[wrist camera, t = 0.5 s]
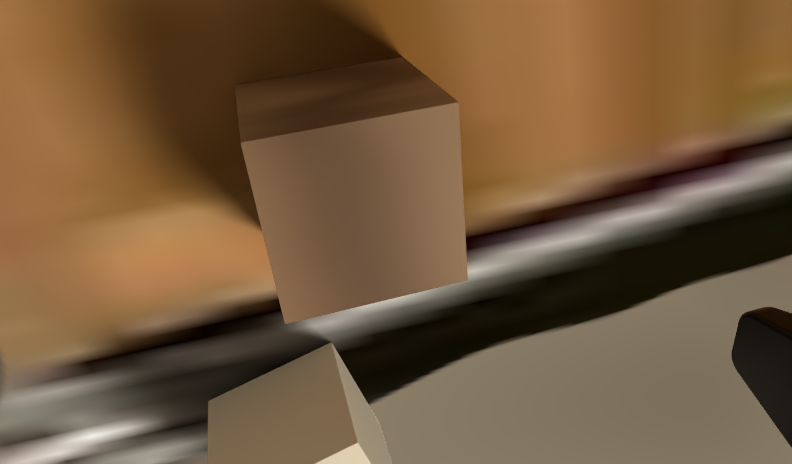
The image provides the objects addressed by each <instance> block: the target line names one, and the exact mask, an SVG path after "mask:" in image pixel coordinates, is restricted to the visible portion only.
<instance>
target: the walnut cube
mask: <svg viewBox="0 0 792 464" xmlns="http://www.w3.org/2000/svg"><path fill="white" fill-rule="evenodd" d="M234 86H235V95H236V105H237V114H238V124H239V133H240V143H241V147H242V151H243V155H244V159H245V163H246V167H247V171H248V175H249V179H250V183H251V188H252V192H253V196H254V200H255V204H256V208H257V212H258V216H259V220H260V224H261V228H262V232H263V236H264V241H265V245H266V249H267V253H268V257H269V261H270V265H271V269H272V273H273V277H274V281H275V285H276V289H277V294H278V298H279V302H280V306H281V310H282V314H283V318H284V322H285V324H288V323H292V322H296V321H301V320H305V319H309V318H313V317H317V316H321V315H325V314H330V313H334V312H338V311H342V310H346V309H350V308H355V307H359V306H363V305H367V304H371V303H375V302H379V301H384V300H388V299H392V298H396V297H400V296H404V295H409V294H413V293H417V292H421V291H425V290H429V289H433V288H438V287H442V286H446V285H450V284H454V283H458V282H463V281H467V280H468V277H467V257H466V238H465V218H464V198H463V179H462V159H461V139H460V119H459V102H458V101H457V100H455V99H454V98H453V97H452V96H450V95H449V94H448V93H447V92H445V91H444V90H443V89H442V88H440V87H439V86H438V85H437V84H436V83H434V82H433V81H432V80H431V79H429V78H428V77H427V76H426V75H424V74H423V73H422V72H421V71H419V70H418V69H417V68H416V67H414V66H413V65H412V64H411V63H410V62H408V61H407V60H406V59H405V58H403V57H397V58H391V59H386V60H380V61H374V62H368V63H362V64H356V65H350V66H344V67H338V68H332V69H326V70H320V71H314V72H308V73H302V74H297V75H291V76H285V77H279V78H273V79H267V80H261V81H255V82H249V83H243V84H237V85H234Z"/></svg>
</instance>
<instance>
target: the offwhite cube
mask: <svg viewBox="0 0 792 464" xmlns="http://www.w3.org/2000/svg"><path fill="white" fill-rule="evenodd" d="M207 464H392V461H391V458H390V455H389V452H388V449H387V446H386V442H385V439H384V436H383V433H382V429H381V426H380V423H379V421H378V420H377V418H376V416H375V414H374V413H373V411H372V409H371V408H370V406H369V405H368V403H367V402H366V400H365V398H364V397H363V395H362V393H361V391H360V390H359V388H358V386H357V385H356V383H355V381H354V380H353V378H352V376H351V374H350V373H349V371H348V369H347V368H346V366H345V364H344V363H343V361H342V359H341V358H340V356H339V354H338V352H337V351H336V349H335V347H334V346H333V344H332V342H331V343H329V344H327V345H324V346H322V347H320V348H318V349H316V350H314V351H312V352H310V353H308V354H306V355H304V356H302V357H299V358H297V359H295V360H293V361H291V362H289V363H287V364H285V365H283V366H281V367H279V368H276V369H274V370H272V371H270V372H268V373H266V374H264V375H262V376H260V377H258V378H256V379H253V380H251V381H249V382H247V383H245V384H243V385H241V386H239V387H237V388H235V389H233V390H230V391H228V392H226V393H224V394H222V395H220V396H218V397H216V398H214V399H212V400H210V401H208V447H207Z"/></svg>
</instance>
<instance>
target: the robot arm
mask: <svg viewBox="0 0 792 464" xmlns="http://www.w3.org/2000/svg"><path fill="white" fill-rule="evenodd" d="M732 361H733V364H734V366H735V368H736V370H737V372H738V373H739V374H740V376H741V377H742V379H743V380H744V381H745V383H746V384H747V385H748V387H749V388H750V390H751V391H752V393H753V394H754V395H755V397H756V398H757V400H758V401H759V402H760V404H761V405H762V407H763V408H764V410H765V411H766V412H767V414H768V415H769V417H770V418H771V419H772V421H773V422H774V423H775V425H776V426H777V428H778V429H779V431H780V432H781V433H782V434H783V436H784V438H785V439H786V440H787V442H788V443H789V444H790V446H791V447H792V313H789V312H785V311H783V310H779V309H777V308H773V307H764V308H760V309H756V310H752V311H749V312H746V313H744V314H743V315H742V316H741V318H740V320H739V323H738V328H737V332H736V336H735V340H734V345H733V349H732Z"/></svg>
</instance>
